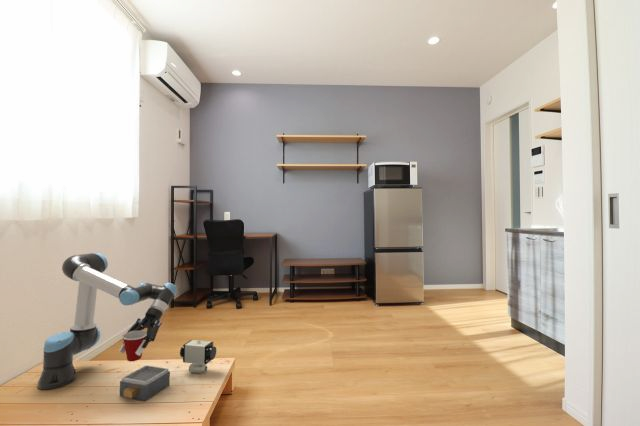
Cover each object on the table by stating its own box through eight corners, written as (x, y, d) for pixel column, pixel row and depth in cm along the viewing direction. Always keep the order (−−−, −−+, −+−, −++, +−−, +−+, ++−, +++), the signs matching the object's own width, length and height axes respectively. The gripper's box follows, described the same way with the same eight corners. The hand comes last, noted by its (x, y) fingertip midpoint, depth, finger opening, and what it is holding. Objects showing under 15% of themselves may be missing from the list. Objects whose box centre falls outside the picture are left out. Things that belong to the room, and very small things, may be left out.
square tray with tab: (114, 399, 143) (115, 380, 144) (145, 381, 160) (146, 364, 160) (140, 404, 139) (141, 385, 140) (169, 385, 156) (170, 368, 156)
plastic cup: (132, 365, 142) (132, 339, 142) (115, 362, 146) (116, 336, 146) (152, 356, 152) (153, 331, 152) (136, 352, 156) (137, 328, 156)
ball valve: (217, 370, 173) (218, 337, 174) (209, 377, 165) (210, 343, 166) (188, 367, 176) (189, 335, 177) (178, 374, 168) (179, 341, 169)
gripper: (177, 315, 161) (152, 359, 145) (143, 312, 168) (116, 354, 152) (169, 308, 156) (142, 352, 141) (135, 305, 163) (106, 347, 147)
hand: (129, 353), depth 146 cm, fingers closed on plastic cup, 9 cm apart
